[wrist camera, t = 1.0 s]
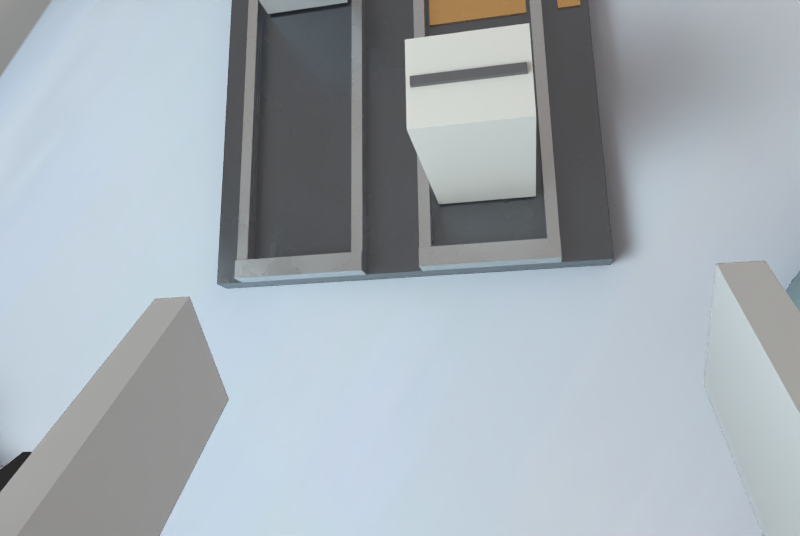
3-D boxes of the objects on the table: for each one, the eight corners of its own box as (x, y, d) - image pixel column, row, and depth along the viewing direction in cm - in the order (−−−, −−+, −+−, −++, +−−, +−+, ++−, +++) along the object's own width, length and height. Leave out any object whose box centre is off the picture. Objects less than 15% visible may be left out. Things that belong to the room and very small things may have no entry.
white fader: (535, 196, 33) (536, 113, 24) (438, 204, 34) (405, 127, 25) (530, 124, 34) (529, 20, 25) (436, 134, 35) (403, 36, 26)
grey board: (610, 264, 33) (615, 253, 31) (226, 288, 37) (208, 280, 35) (570, -138, 39) (573, -170, 37) (244, -81, 43) (230, -107, 41)
